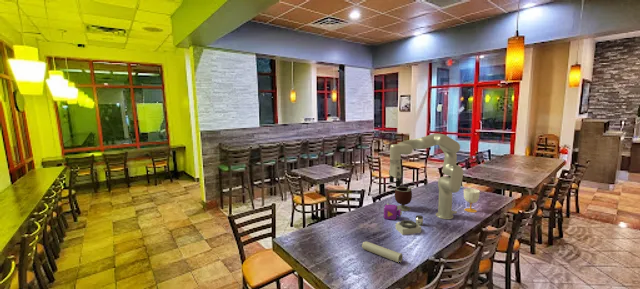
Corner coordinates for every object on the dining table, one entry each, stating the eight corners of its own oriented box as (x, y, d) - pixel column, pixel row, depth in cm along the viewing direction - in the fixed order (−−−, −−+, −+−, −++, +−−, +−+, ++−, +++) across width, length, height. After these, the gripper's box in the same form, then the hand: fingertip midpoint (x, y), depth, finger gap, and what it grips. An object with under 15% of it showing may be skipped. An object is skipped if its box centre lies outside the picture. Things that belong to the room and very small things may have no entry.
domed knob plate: (413, 226, 198) (413, 219, 197) (421, 232, 188) (421, 225, 188) (395, 228, 195) (395, 221, 195) (402, 235, 185) (402, 227, 185)
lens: (420, 222, 204) (420, 215, 203) (424, 225, 199) (424, 217, 199) (414, 223, 203) (414, 215, 202) (418, 226, 198) (418, 218, 198)
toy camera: (402, 221, 208) (402, 208, 206) (383, 220, 210) (384, 207, 209) (401, 215, 218) (401, 203, 217) (383, 214, 221) (383, 202, 219)
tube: (359, 244, 167) (397, 258, 150) (364, 238, 171) (401, 251, 154) (361, 250, 169) (399, 265, 152) (365, 244, 173) (403, 258, 156)
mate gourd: (394, 210, 228) (394, 187, 225) (394, 205, 241) (395, 182, 238) (413, 212, 224) (414, 188, 221) (413, 206, 237) (413, 184, 234)
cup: (463, 212, 222) (464, 191, 220) (461, 207, 233) (462, 187, 231) (479, 214, 218) (481, 193, 215) (477, 208, 229) (478, 189, 226)
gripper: (406, 163, 191) (405, 187, 193) (394, 159, 208) (393, 180, 210) (396, 164, 189) (395, 188, 192) (385, 159, 206) (384, 181, 208)
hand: (394, 184), depth 201 cm, fingers open, 9 cm apart
